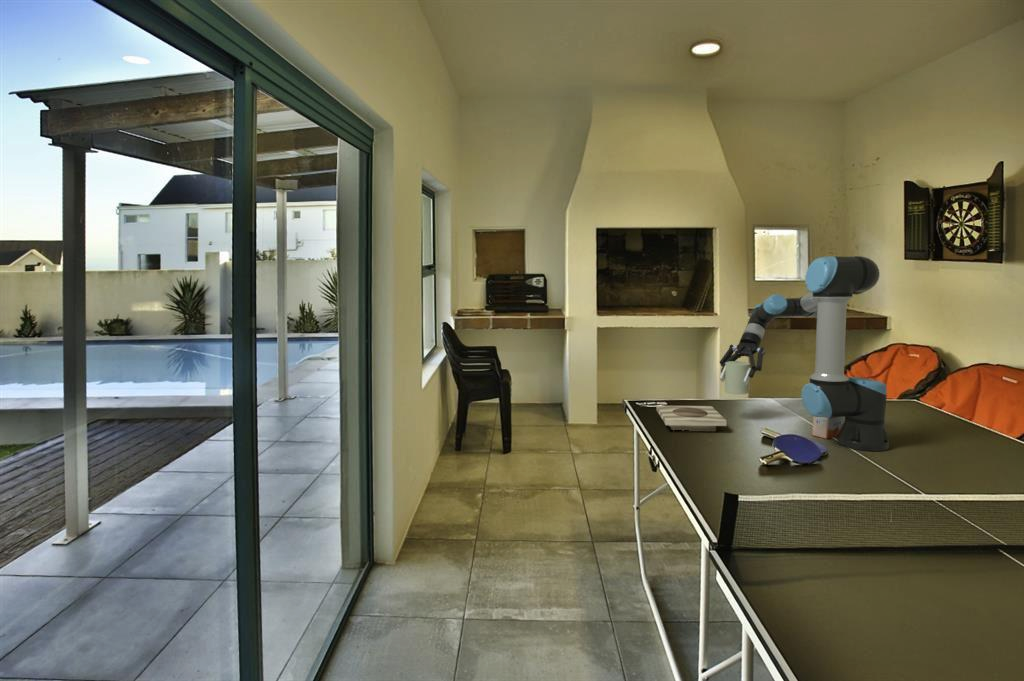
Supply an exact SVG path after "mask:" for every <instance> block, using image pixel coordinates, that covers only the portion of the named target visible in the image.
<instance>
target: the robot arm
mask: <svg viewBox="0 0 1024 681" xmlns="http://www.w3.org/2000/svg"><path fill="white" fill-rule="evenodd" d="M804 280H805V281H804V283H805V285H806V288H807V290H808V291H809V292H808V293H806V294H804V295H802V296H801V297H792V298H791V297H789V298H788V297H786V298H785V296H784V295H781V294H779V293H774V294H772V295H769V297H768V298H766V299H765V300H764V301H763V302H762V303H759V304H756V305H755V306H754V308H753V309H752V310H751V313H750V314H751V315H750V317H749V319H748V320H747V324H746V326H745V329H744V330H743V333H742V335H741V338H740V340H739V343H738V344H737V345H733V344H730V345H729V347H728V349H727V351H726V352H725V353H724V355H723V356H722V358H721V359H720V360H719V364H720V366H721V369H720V377H719V379H720V381H721V382H722V383H725V363H726V362H729V361H738V359H740V358H742V357H747V358H749V361H750V362H749V363H750V368H749V369H748V371H747V374H746V376H745V379H744V383H745V385H748V383H749V384H750V379H751V378H752V379H753V378H754V375H755V373H756V372H757V371H759V372H761V371H762V369H763V368H762V367H763V358H764V355H765V353H766V351H765V349H764V347H760V345H761V343H762V340H763V338H764V335H765V332H766V330H767V328H768V326H769V324H770V323H771V322H773V320H775V319H776V318H793V317H794V318H795V317H796V318H800V317H802V318H808V317H814V316H816V334H815V338H816V339H815V361H814V362H815V363H814V364H815V366H814V373H812V374H811V375H810V376H809V382H808V383H806V384H805V385H803V387H802V388H801V391H800V392H801V394H800V395H801V402H802V404H803V406H804V408H805V410H806V411H807V413H809V415H811V416H812V417H813V416H814V417H824V418H829V417H845V421H844V424H843V426H842V428H841V430H840V432H839V435H837V443H838V444H839V445H842V446H844V447H846V448H850V449H853V450H859V451H865V452H883V451H887V450H889V449H890V448H889V446H890V439H889V436H888V434H887V433H888V432H887V430H886V429H887V428H886V426H885V419H886V407H887V406H886V405H887V397H888V393H887V389H888V388H887V385H886V384H885V382H883V381H880V380H876V379H872V378H871V379H870V378H865V377H858V376H846V375H845V355H846V353H845V352H846V351H845V350H846V333H847V332H846V330H847V329H846V328H847V327H846V326H847V309H848V308H847V307H848V302H849V301H850V300H851V299H852V298H853V295H860V294H863V293H864V292H867V291H870V290H871V289H873V288H874V287H875V286H876V285H877V283H878V282H879V280H880V269H879V266H878V264H877V263H876V262H875V261H873V259H871V258H869V257H866V256H861V255H859V256H855V255H854V256H835V255H833V256H832V255H831V256H830V255H829V256H823V257H822V256H821V257H818V258H816V259H814V260H813V261H812V262H811V264H809V266H808V267H807V270H806V273H805V277H804ZM755 353H757V358H756V359H757V360H756V362H755V356H754V354H755Z"/></svg>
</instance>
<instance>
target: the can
mask: <svg viewBox="0 0 1024 681" xmlns="http://www.w3.org/2000/svg"><path fill="white" fill-rule="evenodd" d="M749 368H751V363H750V362H747V361H739V360H736V361H729V362H726V363H725V380H724V392H725V393H727V394H731V395H732V394H733V395H748V394H749V393H750V382H749V383H748V385H745V383H744V379H745V376H746V374H747V371H748V369H749Z"/></svg>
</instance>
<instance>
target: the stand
mask: <svg viewBox="0 0 1024 681" xmlns="http://www.w3.org/2000/svg"><path fill="white" fill-rule="evenodd" d="M656 412H657V413H658V415H659V416H660V418H661V420H662V421H663V423H664V425H665V426H669V428H670V427H671V428H670V430H673V431H672V432H675V431H674V430H682V431H681V432H685V431H684V430H689V431H688V432H717V427H727V419H726V418H725V417H724V416H722V415H721V414H720V413H719V412H718V411H717V410H716V408H714V407H713V406H712V405H656Z"/></svg>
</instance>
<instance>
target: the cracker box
mask: <svg viewBox="0 0 1024 681" xmlns="http://www.w3.org/2000/svg"><path fill="white" fill-rule="evenodd" d="M844 421H845V417H829V418H824V417H814V416H812V425H811V427H812V428H811V429H812V430H811V436H813V437H817V438H820V439H826V440H828V439H830V438H832V437H835V436H838V435H839V432H840V430H841V428H842V426H843V424H844Z"/></svg>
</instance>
